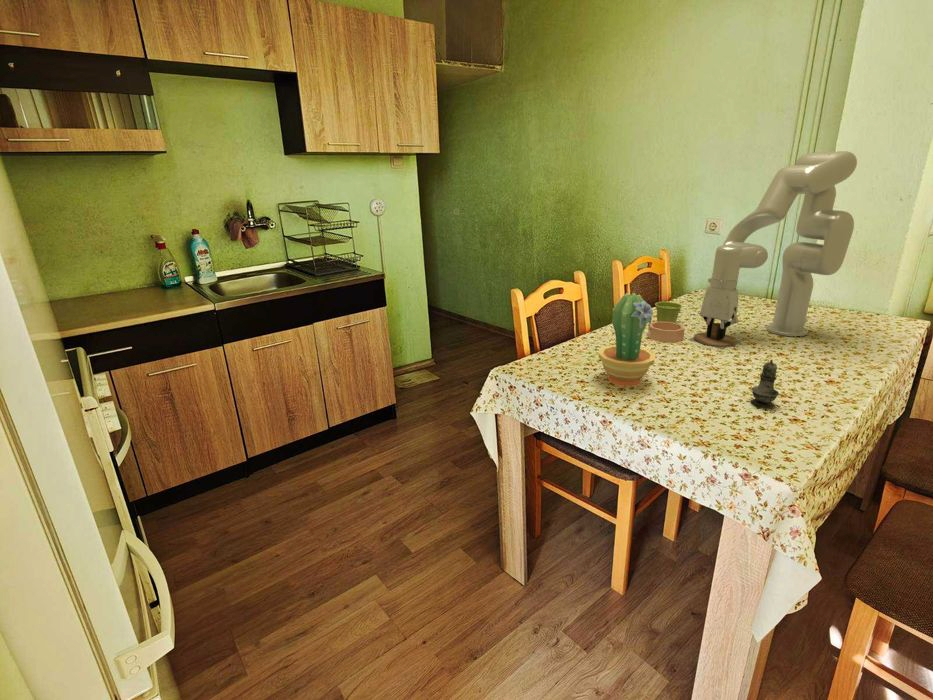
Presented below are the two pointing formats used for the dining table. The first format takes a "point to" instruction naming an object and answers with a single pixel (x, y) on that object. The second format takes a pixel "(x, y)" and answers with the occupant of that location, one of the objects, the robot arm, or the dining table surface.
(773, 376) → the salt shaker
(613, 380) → the potted cactus
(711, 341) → the lid
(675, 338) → the bowl
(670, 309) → the plant pot
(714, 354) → the dining table surface
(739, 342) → the mat
